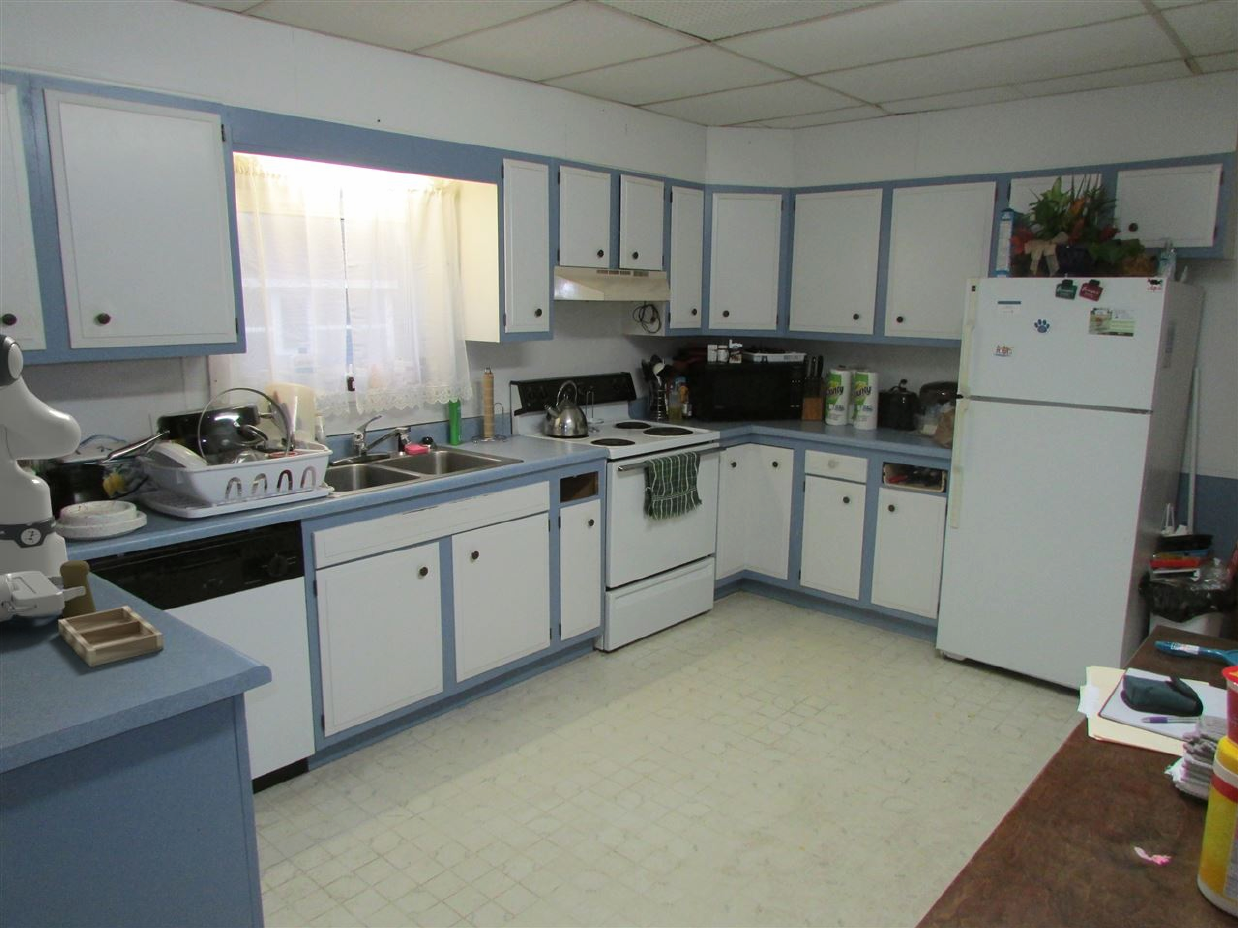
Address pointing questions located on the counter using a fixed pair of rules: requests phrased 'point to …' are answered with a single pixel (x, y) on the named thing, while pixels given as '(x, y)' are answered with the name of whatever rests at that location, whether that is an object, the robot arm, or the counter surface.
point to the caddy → (110, 635)
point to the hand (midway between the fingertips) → (78, 584)
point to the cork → (76, 576)
